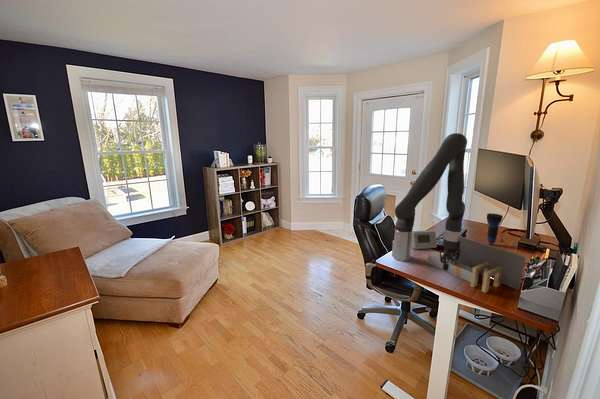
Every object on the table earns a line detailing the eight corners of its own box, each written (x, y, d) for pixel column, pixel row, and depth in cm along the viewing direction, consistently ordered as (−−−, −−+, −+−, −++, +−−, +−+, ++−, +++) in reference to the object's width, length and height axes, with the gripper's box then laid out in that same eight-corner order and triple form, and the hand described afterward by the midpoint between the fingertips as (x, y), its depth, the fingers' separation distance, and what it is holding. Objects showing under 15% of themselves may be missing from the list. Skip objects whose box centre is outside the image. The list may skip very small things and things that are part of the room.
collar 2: (481, 291, 118) (484, 272, 116) (496, 284, 124) (499, 265, 122) (485, 292, 117) (488, 273, 115) (499, 285, 123) (502, 267, 120)
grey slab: (427, 262, 146) (428, 254, 145) (433, 260, 149) (434, 252, 147) (471, 282, 125) (473, 273, 124) (478, 280, 128) (479, 270, 127)
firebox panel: (450, 261, 147) (453, 234, 143) (451, 261, 147) (455, 234, 144) (517, 289, 119) (524, 257, 116) (519, 289, 120) (525, 256, 116)
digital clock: (412, 249, 164) (413, 233, 161) (407, 244, 172) (409, 228, 170) (439, 250, 162) (441, 234, 160) (433, 244, 171) (435, 229, 169)
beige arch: (470, 286, 123) (472, 267, 121) (484, 279, 128) (487, 261, 126) (473, 287, 122) (476, 268, 119) (488, 280, 127) (490, 262, 125)
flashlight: (488, 241, 175) (493, 212, 170) (500, 245, 167) (505, 215, 163) (479, 243, 172) (484, 213, 168) (491, 247, 165) (496, 217, 160)
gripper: (453, 233, 141) (450, 262, 145) (436, 238, 134) (433, 268, 138) (467, 238, 134) (463, 268, 138) (450, 243, 128) (446, 275, 132)
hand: (448, 268), depth 138 cm, fingers closed on grey slab, 5 cm apart
